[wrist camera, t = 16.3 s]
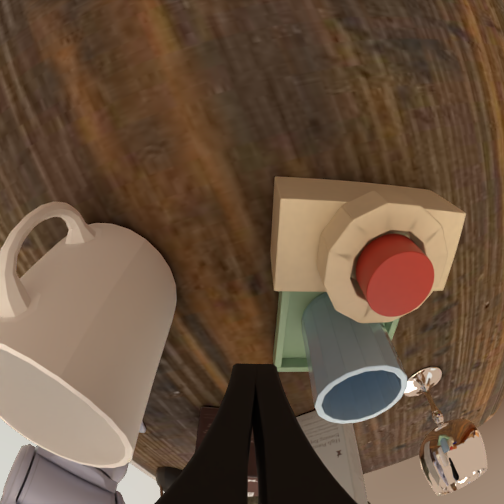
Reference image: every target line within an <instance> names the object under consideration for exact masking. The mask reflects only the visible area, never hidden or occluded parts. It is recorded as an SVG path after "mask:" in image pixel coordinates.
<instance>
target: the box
mask: <svg viewBox="0 0 504 504" xmlns="http://www.w3.org/2000/svg"><path fill="white" fill-rule="evenodd" d="M200 410H201V411H200V418H199V425H198V433H197V441H196V449H195V452H196V450H197V449H198V447H199V446H200V444H201V442H202V441H203V439H204V437H205V435H206V434H207V432H208V430H209V428H210V426H211V424H212V422H213V420H214V418H215V416H216V414H217V412H218V410H219V408H213V407H201V409H200ZM251 496H258V478H257V468H256V458H255V447H254V437H253V426H252V435H251V444H250V453H249V461H248V497H251Z"/></svg>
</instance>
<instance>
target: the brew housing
mask: <svg viewBox="0 0 504 504" xmlns="http://www.w3.org/2000/svg"><path fill="white" fill-rule="evenodd" d="M465 215H466V213H465V212H463V211H462V210H460V209H459V208H457V207H456V206H454V205H453V204H451V203H450V202H448V201H447V200H445V199H444V198H442V197H441V196H439V195H437V194H436V193H434V192H433V191H431V190H427V189H419V188H411V187H403V186H394V185H385V184H375V183H365V182H354V181H342V180H329V179H314V178H298V177H277V176H275V177H274V196H273V214H272V232H271V248H270V255H271V266H272V276H273V287H274V291H290V292H327V294H328V296H329V298H330V300H331V302H332V304H333V306H334V308H335V310H336V311H338V312H340V313H341V314H343V315H345V316H347V317H349V318H351V319H353V320H355V321H357V322H358V323H384V322H391V321H394V320H396V319H398V318H400V317H402V316H404V315H406V314H408V313H406V314H404V315H401V316H396V317H386V316H382V315H380V314H377V313H376V312H374V311H373V310H372V309H371V307H370V306H369V304H368V302H367V300H366V298H365V296H364V294H363V292H362V290H361V288H360V286H359V284H358V282H357V279H356V264H357V261H358V258H359V256H360V254H361V253H362V251H363V250H364V249H365V247H366V246H367V245H368V244H369V243H371V242H372V241H373V240H375V239H377V238H378V237H381V236H383V235H387V234H401V235H404V236H406V237H408V238H410V239H411V240H412V241H413V242H414V243H415V244H416V245H417V246H418V247H419V248H420V250H421V251H422V252H423V253H424V254H425V255H426V256H427V257H428V258H429V259H430V261H431V262H432V265H433V268H434V283H433V286H432V289H431V291H430V293H429V294H428V296H427V297H426V299H427V298H428V297H429V295H430V294H431V293H432V292H433V291H443V289H444V286H445V283H446V281H447V278H448V275H449V272H450V269H451V265H452V262H453V259H454V256H455V252H456V249H457V246H458V242H459V239H460V235H461V231H462V227H463V224H464V220H465ZM426 299H425V300H426ZM425 300H424V301H425ZM424 301H423V302H424ZM423 302H422V303H423ZM422 303H421V304H422ZM421 304H420V305H419V306H418V307H417V308H419V307H420V306H421ZM417 308H415V309H414V310H416V309H417ZM414 310H412V311H414ZM412 311H411V312H412ZM409 313H410V312H409Z"/></svg>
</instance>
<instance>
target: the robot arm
mask: <svg viewBox="0 0 504 504" xmlns="http://www.w3.org/2000/svg"><path fill="white" fill-rule="evenodd" d="M252 426H253V437H254V447H255V458H256V468H257V478H258V504H358V503H357V502H356V501H355V500H354V499H353V498H352V497H351V496H350V495H349V494H348V493H347V492H346V491H345V489H344V488H343V487H342V486H341V485H340V484H339V483H338V481H337V480H336V479H335V478H334V477H333V475H332V474H331V473H330V471H329V470H328V469H327V468H326V466H325V465H324V463H323V462H322V461H321V459H320V458H319V456H318V455H317V453H316V452H315V450H314V449H313V447H312V446H311V444H310V442H309V441H308V439H307V437H306V435H305V434H304V432H303V430H302V428H301V427H300V425H299V423H298V421H297V419H296V417H295V415H294V413H293V411H292V408H291V406H290V404H289V402H288V400H287V397H286V395H285V392H284V390H283V387H282V384H281V381H280V378H279V375H278V371H277V367H276V366H275V365H274V364H235V365H233V369H232V374H231V378H230V382H229V385H228V388H227V390H226V393H225V396H224V398H223V401H222V403H221V405H220V408H219V410H218V412H217V414H216V416H215V418H214V420H213V422H212V424H211V426H210V428H209V430H208V432H207V434H206V435H205V437H204V439H203V441H202V442H201V444H200V446H199V447H198V449H197V450H196V452H195V454H194V455H193V457H192V458H191V460H190V461H189V462H188V464H187V465H186V467H185V468H184V469H183V471H182V472H181V473H180V475H179V476H178V477H177V479H176V480H175V481H174V482H173V484H172V485H171V486H170V487H169V488H168V489H167V491H166V492H165V493H164V494H163V495H162V496H161V497H160V498H159V499H158V501H157V502H156V503H155V504H248V461H249V453H250V444H251V435H252ZM145 431H146V428H145V426H144V423H143V421H142V423H141V426H140V430H139V432H141V433H144V432H145ZM128 464H129V462H128V463H127V464H126V465H125V466H120V467H116V468H98V467H93V466H88V465H83V464H79V463H76V462H73V461H70V460H67V459H65V458H62V457H60V456H58V455H55V454H53V453H51V452H49V451H47V450H45V449H43V448H41V447H40V446H38V445H37V446H36V447H34V446H32V445H31V444H28V445H25V446H22V447H21V449H20V451H19V453H18V455H17V457H16V459H15V461H14V464H13V466H12V468H11V471H10V473H9V475H8V478H7V481H6V483H5V486H4V490H3V495H2V498H1V501H0V504H125V502H124V501H123V497H122V495H121V494H120V492H118V491H116V488H117V484H118V483H119V482H120V481H121V480H122V479H123V477H124V476H125V474H126V471H127V468H128Z"/></svg>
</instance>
